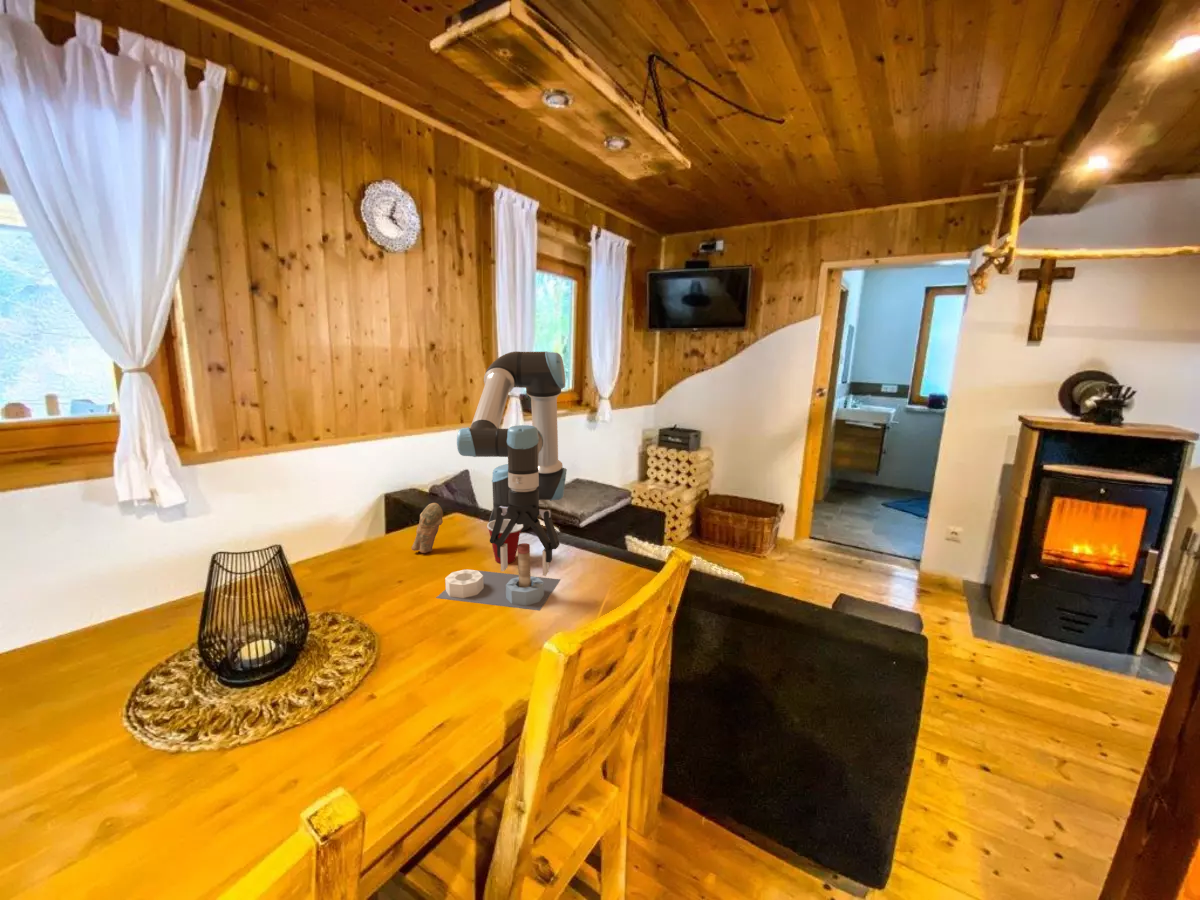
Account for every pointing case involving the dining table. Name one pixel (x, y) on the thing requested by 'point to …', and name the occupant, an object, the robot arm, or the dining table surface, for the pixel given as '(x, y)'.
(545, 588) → the felt mat
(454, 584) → the bead white
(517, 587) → the bead blue
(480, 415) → the robot arm
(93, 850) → the dining table surface
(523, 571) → the dowel
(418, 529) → the figurine
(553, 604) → the dining table surface
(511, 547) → the plastic cup
